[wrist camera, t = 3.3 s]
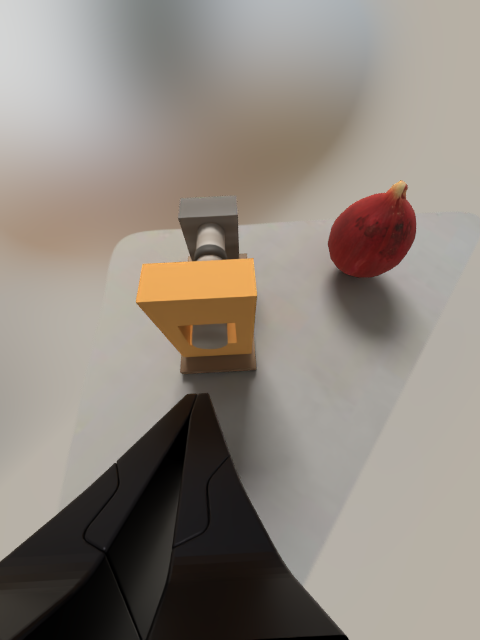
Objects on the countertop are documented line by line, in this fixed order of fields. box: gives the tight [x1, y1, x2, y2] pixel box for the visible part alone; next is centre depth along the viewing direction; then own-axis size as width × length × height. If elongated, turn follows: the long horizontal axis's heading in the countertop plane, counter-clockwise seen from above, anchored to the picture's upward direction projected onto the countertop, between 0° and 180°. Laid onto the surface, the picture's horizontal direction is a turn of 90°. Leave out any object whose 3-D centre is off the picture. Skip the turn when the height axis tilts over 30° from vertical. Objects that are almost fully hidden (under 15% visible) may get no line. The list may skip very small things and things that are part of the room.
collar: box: [136, 258, 257, 357], centre depth 13 cm, size 2×5×8 cm, turn 93°
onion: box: [328, 180, 416, 278], centre depth 17 cm, size 6×6×8 cm
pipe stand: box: [178, 196, 256, 374], centre depth 16 cm, size 11×6×6 cm, turn 3°
